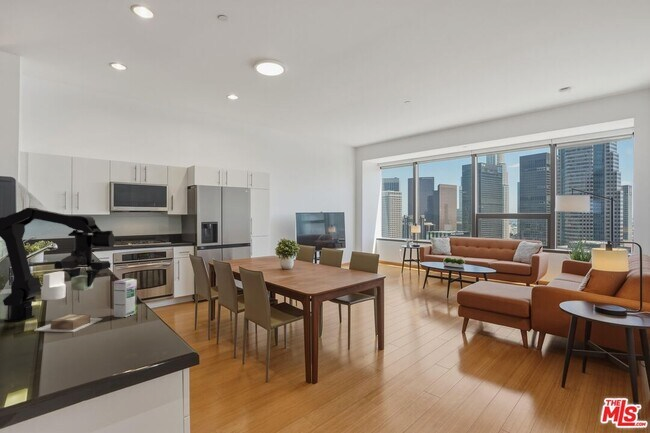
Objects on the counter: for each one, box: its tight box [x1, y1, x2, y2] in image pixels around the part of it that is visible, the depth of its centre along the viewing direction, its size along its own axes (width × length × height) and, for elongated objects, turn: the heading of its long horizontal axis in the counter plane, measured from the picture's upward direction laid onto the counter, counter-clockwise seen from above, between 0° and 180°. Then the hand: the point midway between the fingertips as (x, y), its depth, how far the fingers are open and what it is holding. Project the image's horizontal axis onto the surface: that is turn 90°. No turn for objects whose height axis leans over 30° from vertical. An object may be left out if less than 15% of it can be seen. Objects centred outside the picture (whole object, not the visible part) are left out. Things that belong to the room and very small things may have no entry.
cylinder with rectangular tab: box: [40, 270, 67, 301], centre depth 155 cm, size 9×9×12 cm
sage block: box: [70, 274, 94, 292], centre depth 128 cm, size 5×5×5 cm
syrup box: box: [113, 278, 138, 318], centre depth 131 cm, size 6×6×14 cm
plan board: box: [33, 313, 103, 333], centre depth 118 cm, size 14×14×4 cm
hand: (82, 286), depth 128 cm, fingers closed on sage block, 5 cm apart
